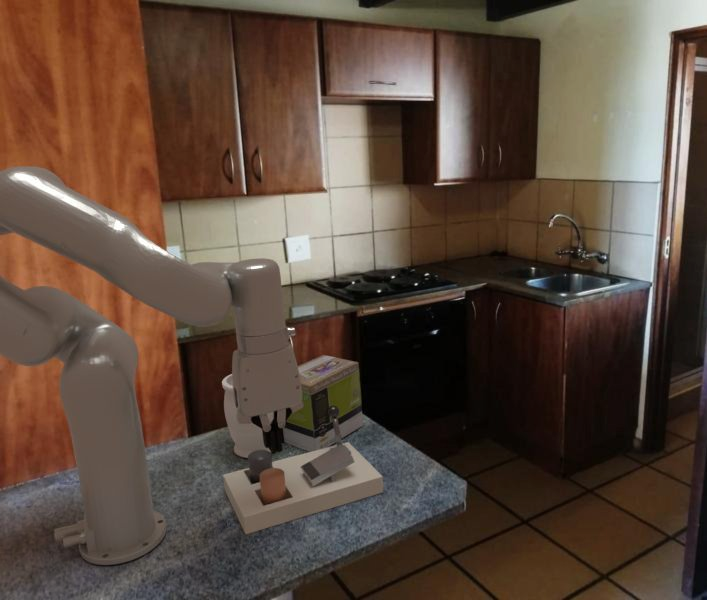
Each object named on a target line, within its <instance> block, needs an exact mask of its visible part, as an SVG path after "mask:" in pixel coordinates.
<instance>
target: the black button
mask: <svg viewBox="0 0 707 600" xmlns="http://www.w3.org/2000/svg"><path fill="white" fill-rule="evenodd" d="M272 455H273V454H272V452H270V451H267V450H257V451H254V452H252V453H250V454H249V455H248V458H247V461H248V468H249V473H250V482H251V483H252V484H255V483H259V482H260V473H261V472H263V471H264V470H266V469H270V468H273V467H272V462H273V457H272ZM252 484H251V485H252Z"/></svg>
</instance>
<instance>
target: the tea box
mask: <svg viewBox="0 0 707 600" xmlns="http://www.w3.org/2000/svg"><path fill="white" fill-rule="evenodd" d="M297 366H298V370H299V375H300V380H301V387H302V402H303V404H304V406H303V408H301V409H300V410H298V411H296V412H293V413H292V414H291V415H290V416H289V418H288V419H287V421H286V422H285V426H284V427H283V433H284V444H288V445H290V446H293V447H295V448H297V449H299V450H303V451H305V452H307V453H308V452H312V451H316V450H320V449H324V448H327V447H331V446H333V444H335V443H336V437H335V432H334V426H333V421H332V417H330V416H329V415H328V408H329V407H330V406H337V407H338V408H339V411H340V412H339V415H338V416H337V418H338V423H339V429H340V434H341V440H342V439H343V438H345V437H347V436H348V435H350V434H351V433H353V432H355V431H357V430H358V429H360V428H361V427H363V425H364V423H363V422H364V421H363V410H362V406H363V405H362V391H361V378H360V376H361V375H360V365H359V362H358V361H353V360H349V359H344V358H341V357H339V358H338V357H336V356H330V355H326V354H322V355H320V356H319V357H316V358H313V359H311V360H308V361H307V362H304V363H302V364H300V365H297Z"/></svg>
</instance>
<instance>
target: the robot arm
mask: <svg viewBox="0 0 707 600" xmlns="http://www.w3.org/2000/svg"><path fill="white" fill-rule="evenodd" d="M14 233H15V234H16V235H19V236H20V237H22V238H25V239H26V240H29V241H31V242H33V243H35V244H37V245H39V246H41V247H44V248H46V249H48V250H49V251H52V252H54V253H56V254H58V255H61V256H62V257H65V258H67V259H69V260H71V261H73V262H75V263H77V264H78V265H81V266H83V267H85V268H87V269H89V270H91V271H93V272H94V273H96V274H98V275H99V276H100V277H102V278H103V279H104V280H106V281H107V282H109V283H110V284H112V285H114V286H116V287H117V288H118V289H120V290H122V291H123V292H125V293H127V294H128V295H129V296H131V297H133V298H134V299H136V300H138V301H140V302H141V303H142V304H145V305H147V306H148V307H150V308H153V309H155V310H156V311H159V312H160V313H163V314H165V315H168V316H169V317H172V318H174V319H176V320H178V321H181V322H182V323H185V324H187V325H191V326H194V327H200V328H206V327H207V328H208V327H212V326H215V325H218V323H221V322H222V321H223V320H224V319H225V318H226V317H227V315H228V314H229V313H230V310H231V308H232V311H233V312H232V313H233V318H234V320H233V321H234V326H235V327H234V328H235V335H236V336H235V337H236V344H237V349H236V350H234V351H232V359H231V361H232V364H231V368H232V369H231V374H232V382H233V397H234V403H235V406H236V408H237V416H236V420H237V421H238V423H239V424H250V423H253V424H255V425H256V426H258V427H260V428H261V429H262V433H263V441H264V446H265V447H266V448H269V450H270V451H271V455H274V454H277V452H278V453H281V452H283V444H285V442H284V433H283V427H284V426H285V422H286V421H287V419H288V418H289V416H290V415H291V414H292V413H293V412H296V411H298V410H300V409H301V408H303V406H304V404H303V402H302V387H301V380H300V375H299V370H298V366H299V365H298V362H297V358H296V355H295V352H294V348H293V345H292V344H291V342H290V341H289V340H290V338H291V337H294V336H295V335H296V329H295V327H294V326H292V327H290V326H287V325H286V316H285V306H284V299H283V297H284V296H283V287H282V278H281V277H282V276H281V271H280V270H281V269H280V265H279V264H278V263H277V261H276V260H274V259H270V258H261V257H259V258H252V259H251V258H249V259H244V260H240V261H236V262H214V261H213V262H211V261H204V262H203V261H202V262H196V263H193V264H191V263H189V262H187V261H185V260H183V259H181V258H179V257H177V256H175V255H174V254H172V253H171V252H169V251H168V250H166V249H164V248H162V247H160V246H159V245H158V244H156V243H155V242H153V241H152V240H151V239H150V238H149V237H147V236H146V235H145V234H144V233H143V232H142V231H141V230H140V228H138V227H137V225H135V224H134V222H132V221H131V220H129V219H128V218H127V217H125V216H124V215H122V214H120V213H118V212H117V211H114V210H112V209H110V208H109V207H107V206H105V205H102V204H100V203H99V202H97V201H96V200H95V201H94V200H93V199H91V198H89V197H87V196H85V195H83V194H81V193H79V192H78V191H76V190H74V189H72V188H70V187H69V186H67V185H66V184H65V182H64V181H63V180H62V179H61V178H60V177H59V176H58V175H57V174H55V173H54V172H52V171H51V170H49V169H46V168H43V167H39V166H31V165H30V166H29V165H27V166H12V167H8V168H5V169H3V170H1V171H0V236H6V235H8V234H14ZM139 355H140V354H139V350H138V345H137V344H136V341H135V340H134V338H133V337H132V336H131V335H130V334H129V333H128V331H125V330H124V329H123V328H122V327H120V326H119V325H118V324H116V323H115V322H113V321H112V320H110V319H108V318H107V317H106V316H104V315H102V314H101V313H100V312H99V311H97V310H95V309H94V308H92V307H91V306H89V305H87V304H85V302H83V301H81V300H80V299H78V298H76V297H75V296H73V295H72V294H70V293H68V292H66V291H65V290H62V289H59V288H57V287H53V286H48V285H47V286H46V285H38V286H37V285H36V286H31V287H29V288H26V289H23V288H21V287H19V286H18V285H15V284H14V283H12V282H11V281H9V280H7V279H6V278H5V277H3V276H2V275H0V356H2V357H4V358H5V359H7V360H9V361H11V362H12V363H15V364H17V365H20V366H25V367H36V366H41V365H44V364H47V363H48V362H50V361H51V360H52V359H54V358H55V359H57V360H58V361H60V362H62V363H63V366H62V368H61V372H60V376H59V381H58V384H59V385H58V386H59V388H58V390H59V396H60V401H61V405H62V408H63V411H64V415H65V417H66V421H67V424H68V428H69V432H70V438H71V443H72V448H73V449H72V450H73V453H74V458H75V463H76V469H77V475H78V481H79V487H80V492H81V498H82V505H83V510H84V512H83V519H81V520H77V521H76V523H75V524H71V525H64V526H62V527H57V528H55V529H53V535H54V542H55V543H59V542H62V543H63V547H64V548H65V549H66V548H69V547H73V546H75V545H77V544H78V549H79V554H80V556H81V557H82V558H83V559H84V560H85V561H86V562H88V563H90V564H95V565H98V566H101V565H102V566H110V565H118V564H119V565H120V564H124V563H127V562H130V561H134V560H136V559H139V558H140V557H142V556H144V555H146V554H148V553H149V552H151V551H152V550H153V549H155V548H156V547H157V546H158V545H159V544H160V543H161V542H162V541H163V539H164V538H165V535H166V533H167V522H166V521H167V520H166V518H165V517H164V515H163V514H162V513H160V512H159V511H157V510H154V504H153V497H152V490H151V482H150V474H149V469H148V461H147V453H146V448H145V447H146V446H145V441H144V435H143V434H144V433H143V428H142V427H143V426H142V421H141V415H140V410H139V406H138V400H137V395H136V394H137V393H136V385H135V384H136V383H135V379H136V374H137V368H138V363H139ZM271 412H273V420H272V422H271V424H270V422H269V419H268V415H267V413H271Z"/></svg>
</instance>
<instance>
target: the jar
mask: <svg viewBox="0 0 707 600" xmlns="http://www.w3.org/2000/svg"><path fill="white" fill-rule="evenodd" d="M221 386H222V388H223V389H224V398H223V410H224V417H225V420H226V425H227V427H228V431H229V435H230V437H231V439H232V441H233V442H234V447H233V452H234V454H235V455H237V456H238V457H240V458H243V459H244V458H246V459H248V455H249V454H250V453H252V452H254V451H257V450H267V451H270V450H269V448H266V447H265V446H264V441H263V433H262V429H261V428H260V427H258V426H256V425H255V424H253V423H250V424H239V423H238V421H237V420H236V416H237V408H236V406H235V403H234V397H233V382H232V373H231V374H229V375H227V376H225V377H224V378H223V379H222V381H221ZM267 415H268V419H269V422H270V424H271V422H272V420H273V412H271V413H267ZM270 452H271V451H270ZM271 453H272V452H271Z"/></svg>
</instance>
